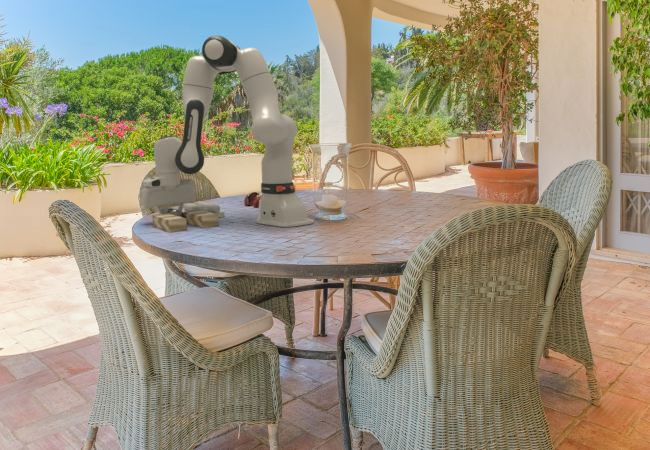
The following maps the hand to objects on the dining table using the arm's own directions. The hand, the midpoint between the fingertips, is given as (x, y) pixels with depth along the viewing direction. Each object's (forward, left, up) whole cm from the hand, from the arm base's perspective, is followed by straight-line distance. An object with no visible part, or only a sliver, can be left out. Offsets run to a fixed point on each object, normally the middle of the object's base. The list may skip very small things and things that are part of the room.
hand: (170, 216), depth 213 cm
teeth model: (+13, -46, -2) cm, 48 cm away
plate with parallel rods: (+3, -14, -2) cm, 15 cm away
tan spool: (-14, 0, -2) cm, 14 cm away
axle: (-1, 0, -2) cm, 2 cm away
